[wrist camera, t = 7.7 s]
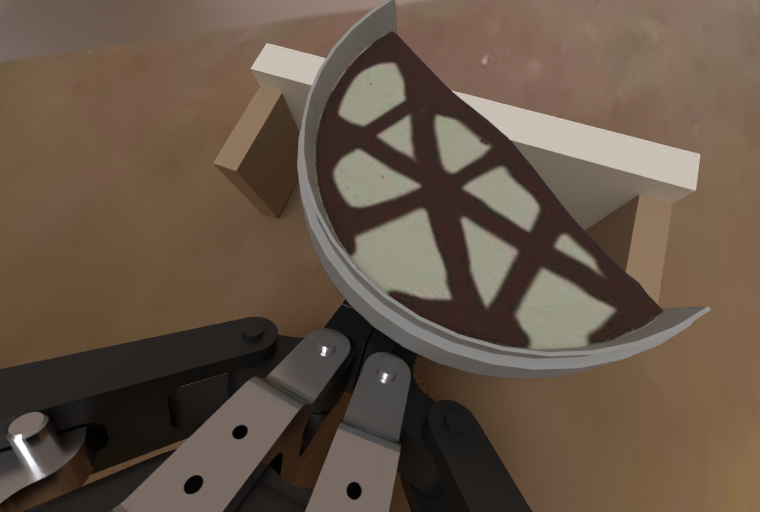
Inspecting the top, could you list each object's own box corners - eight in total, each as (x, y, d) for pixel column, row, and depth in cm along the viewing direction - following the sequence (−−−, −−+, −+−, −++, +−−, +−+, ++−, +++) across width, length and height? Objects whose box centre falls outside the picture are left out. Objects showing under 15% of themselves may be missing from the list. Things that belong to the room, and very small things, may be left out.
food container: (304, 223, 18) (201, 82, 9) (391, 169, 19) (383, -15, 10) (429, 420, 15) (484, 536, 5) (530, 345, 16) (735, 332, 6)
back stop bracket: (260, 211, 19) (199, 149, 13) (303, 130, 20) (266, 43, 15) (579, 325, 16) (681, 309, 10) (601, 220, 17) (700, 154, 12)
